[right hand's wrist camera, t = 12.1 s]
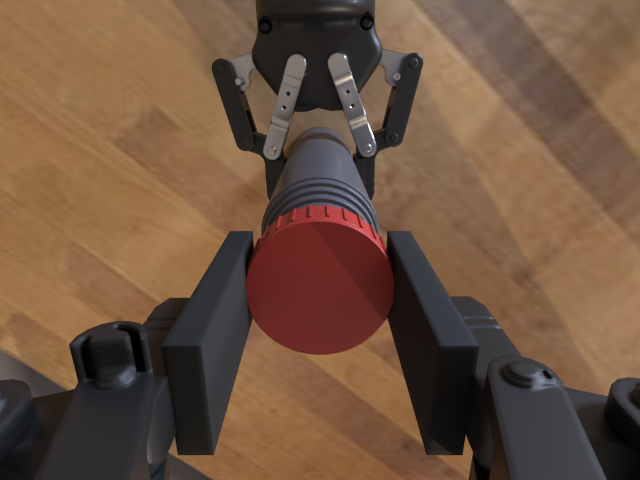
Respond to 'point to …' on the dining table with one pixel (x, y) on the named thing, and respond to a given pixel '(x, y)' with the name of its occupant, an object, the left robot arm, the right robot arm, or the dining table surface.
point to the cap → (320, 280)
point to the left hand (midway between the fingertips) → (321, 205)
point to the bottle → (320, 179)
